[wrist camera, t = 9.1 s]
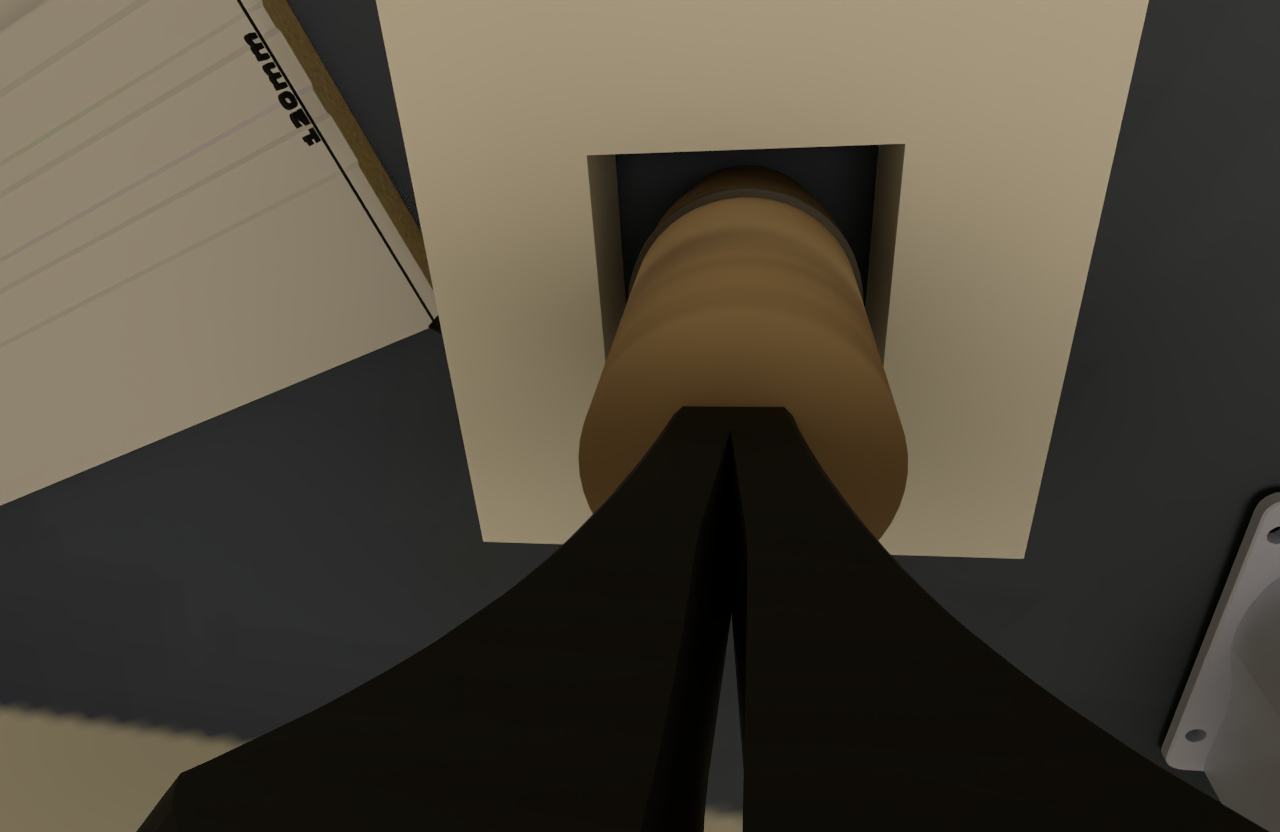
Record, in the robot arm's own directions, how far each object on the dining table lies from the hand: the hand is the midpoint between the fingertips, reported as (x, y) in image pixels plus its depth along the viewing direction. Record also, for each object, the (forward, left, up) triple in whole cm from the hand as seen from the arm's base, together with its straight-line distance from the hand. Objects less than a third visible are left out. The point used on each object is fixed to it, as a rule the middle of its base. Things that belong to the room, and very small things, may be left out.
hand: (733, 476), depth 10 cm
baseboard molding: (-1, +23, -10) cm, 25 cm away
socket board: (0, 0, -9) cm, 9 cm away
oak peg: (0, 0, -9) cm, 9 cm away
